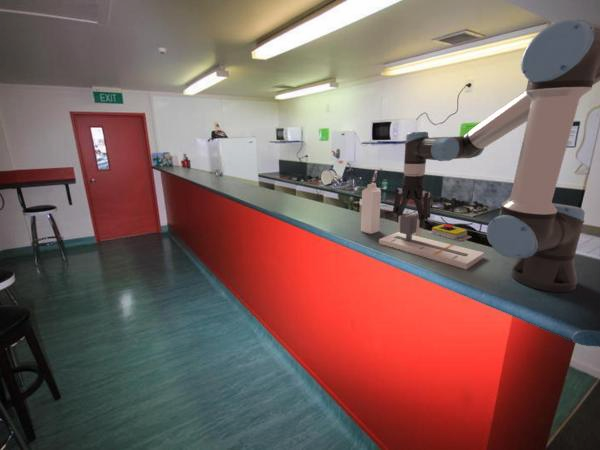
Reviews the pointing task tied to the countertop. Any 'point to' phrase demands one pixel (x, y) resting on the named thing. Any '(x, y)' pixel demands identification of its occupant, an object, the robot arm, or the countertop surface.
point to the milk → (370, 209)
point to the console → (434, 250)
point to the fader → (409, 224)
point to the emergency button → (450, 232)
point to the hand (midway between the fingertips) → (409, 232)
